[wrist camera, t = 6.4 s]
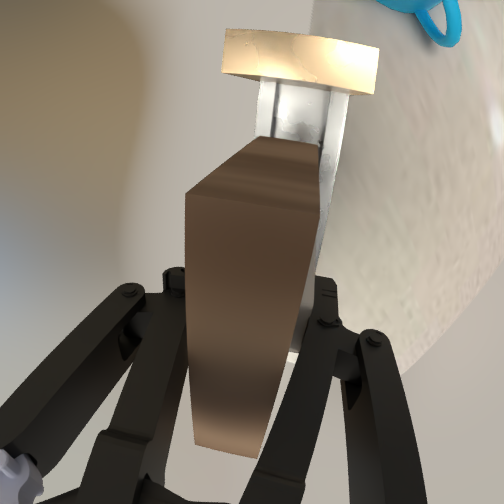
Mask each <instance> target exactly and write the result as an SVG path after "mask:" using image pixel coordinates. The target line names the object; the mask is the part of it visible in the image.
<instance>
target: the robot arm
mask: <svg viewBox="0 0 504 504" xmlns="http://www.w3.org/2000/svg"><path fill="white" fill-rule="evenodd" d="M315 255H316V239H315V243H314V248H313V252H312V257H311V262H310V266H309V270H308V275H307V279H306V284H305V288H304V292H303V296H302V300H301V305H300V309H299V313H298V317H297V321H296V325H295V329H294V333H293V337H292V340H291V344H290V348H289V352H294V353H299V355H298V358H297V361H296V364H295V367H294V369H293V372H292V375H291V378H290V381H289V384H288V386H287V389H286V392H285V394H284V398H283V400H282V403H281V405H280V408H279V411H278V413H277V416H276V418H275V421H274V424H273V426H272V429H271V431H270V434H269V436H268V439H267V441H266V444H265V446H264V448H263V451H262V454H261V456H260V458H259V461H258V463H257V465H256V467H255V469H254V471H253V473H252V475H251V478H250V480H249V482H248V484H247V487H246V489H245V491H244V493H243V496H242V498H241V500H240V502H239V504H301V501H302V497H303V494H304V491H305V478H306V475H307V472H308V468H309V465H310V461H311V458H312V455H313V451H314V448H315V444H316V441H317V437H318V433H319V430H320V426H321V422H322V418H323V414H324V410H325V406H326V402H327V398H328V394H329V389H330V385H331V380H332V376H334V377H337V378H339V379H341V380H340V383H341V392H342V401H343V411H344V421H345V433H346V446H347V460H348V475H349V495H350V504H427V497H426V491H425V485H424V479H423V473H422V468H421V462H420V457H419V452H418V447H417V443H416V438H415V433H414V429H413V425H412V420H411V416H410V412H409V408H408V404H407V400H406V396H405V392H404V389H403V385H402V381H401V378H400V374H399V371H398V367H397V364H396V360H395V357H394V353H393V350H392V347H391V344H390V341H389V339H388V337H387V336H386V335H385V334H384V333H382V332H380V331H378V330H374V329H366V330H364V331H362V332H361V334H360V335H359V334H357V333H354V332H352V331H350V330H348V329H347V328H345V327H344V326H343V325H342V321H341V319H340V318H339V316H338V298H337V297H338V296H337V285H336V283H335V282H334V280H333V279H332V278H327V277H321V276H316V275H315ZM132 363H133V364H132ZM131 364H132V366H131V369H130V372H129V374H128V377H127V379H126V382H125V384H124V387H123V390H122V392H121V395H120V398H119V400H118V403H117V406H116V408H115V411H114V414H113V417H112V419H111V422H110V425H109V427H108V428H107V429H106V430H102V431H101V432H100V433H99V434H98V436H97V438H96V441H95V443H94V446H93V449H92V452H91V455H90V458H89V460H88V463H87V467H86V469H85V472H84V476H83V479H82V482H81V485H80V487H79V488H76V489H74V490H71V491H68V492H66V493H63V494H61V495H58V496H56V497H53V498H50V499H48V500H45V501H43V502H39V503H37V504H229V503H218V502H193V501H188V500H185V499H183V498H182V497H180V496H178V495H176V494H174V493H173V492H171V491H170V490H168V489H166V488H165V487H164V484H165V467H166V463H167V458H168V453H169V448H170V443H171V439H172V435H173V430H174V425H175V420H176V416H177V412H178V407H179V403H180V399H181V394H182V390H183V386H184V381H185V377H186V373H187V369H188V349H187V327H186V297H185V268H184V267H173V268H169V269H167V270H165V271H164V273H163V292H162V293H145V289H144V287H143V286H142V285H140V284H138V283H125V284H123V285H120V286H119V287H117V289H115V290H114V291H113V292H112V293H111V294H110V295H109V296H108V297H107V298H106V299H105V300H104V301H103V302H102V303H100V304H99V305H98V306H97V307H96V308H95V309H94V310H93V311H92V312H91V313H90V314H89V315H88V316H87V317H86V318H85V319H84V320H83V321H82V322H81V323H80V324H79V325H78V326H77V327H76V328H75V329H74V330H73V331H72V332H71V333H70V334H69V335H68V336H67V337H66V338H65V339H64V340H63V341H62V342H61V343H60V344H59V345H58V346H57V347H56V348H55V349H54V350H53V351H52V352H51V353H50V354H49V355H48V356H47V357H46V358H45V359H44V360H43V361H42V362H41V363H40V365H39V366H38V367H37V368H36V369H35V370H34V371H33V372H32V373H31V374H30V375H29V376H28V377H27V379H25V381H24V382H23V383H22V384H21V385H20V386H19V387H18V388H17V389H16V390H15V391H14V393H13V394H12V395H11V396H10V397H9V398H8V399H7V401H6V402H5V403H4V404H3V405H2V406H1V407H0V504H33V501H34V499H35V497H36V496H40V495H42V493H43V491H44V487H43V480H42V478H43V477H44V476H46V475H47V474H48V473H49V472H50V471H51V470H52V469H53V468H54V467H55V466H56V465H57V464H58V462H59V461H60V460H61V459H62V457H63V456H64V455H65V453H66V452H67V450H68V449H69V448H70V446H71V445H72V443H73V442H74V441H75V439H76V438H77V437H78V435H79V434H80V432H81V431H82V430H83V428H84V427H85V426H86V424H87V423H88V421H89V420H90V419H91V417H92V416H93V414H94V413H95V412H96V411H97V409H98V408H99V407H100V405H101V404H102V402H103V401H104V400H105V398H106V397H107V396H108V394H109V393H110V392H111V390H112V389H113V388H114V386H115V385H116V383H117V382H118V381H119V380H120V378H121V377H122V375H123V374H124V373H125V372H126V370H127V369H128V368H129V366H130V365H131Z"/></svg>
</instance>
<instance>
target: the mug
mask: <svg viewBox="0 0 504 504" xmlns="http://www.w3.org/2000/svg"><path fill="white" fill-rule="evenodd" d="M376 1H377V2H379V3H381V4H383V5H385V6H387V7H388V8H390V9H393V10H397V11H400V12H403V13H415V14H416V16H417V18H418V20H419V21H420V23H421V25H422V26H423V28H424V30H425V31H426V32H427V34H428V35H429V36H430V37H431V39H432V40H434V41H435V42H436V43H437V44H438V45H440V46H443V47H453V46H454V45H455V44H456V43H458V42H459V40H460V36H461V31H462V23H461V13H460V9H459V5H458V0H376ZM442 1H443V5H444V9H445V13H446V21H447V30H446V35H443V34H442V33H441V32H440V30H439V29H438V28H437V27H436V25H435V24H434V22H433V21H432V19H431V17H430V16H429V14H428V12H427V11H428V10H430V9H432V8H433V7H435V6H436V5H438V4H439V3H441V2H442Z"/></svg>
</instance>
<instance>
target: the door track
mask: <svg viewBox="0 0 504 504" xmlns="http://www.w3.org/2000/svg"><path fill="white" fill-rule="evenodd" d="M224 43H225V44H224V52H223V61H222V71H221V72H222V73H225V74H230V75H234V76H239V77H243V78H247V79H251V80H255V81H259V82H260V87H259V96H258V105H257V106H258V107H257V115H256V124H255V134H254V139H256V138H257V137H258V136H266V137H273V138H280V139H287V140H293V141H299V142H305V143H311V144H317V145H318V162H319V187H320V219H319V224H318V229H317V234H316V255H315V270H316V266H317V262H318V258H319V253H320V249H321V244H322V240H323V236H324V231H325V226H326V222H327V217H328V212H329V207H330V202H331V198H332V192H333V187H334V182H335V177H336V172H337V166H338V161H339V155H340V150H341V144H342V138H343V132H344V126H345V120H346V113H347V107H348V100H349V95H368V94H373V93H374V86H375V79H376V72H377V64H378V55H379V49H378V48H374V47H369V46H365V45H361V44H356V43H351V42H346V41H341V40H336V39H330V38H324V37H318V36H311V35H304V34H295V33H287V32H277V31H265V30H248V29H247V30H246V29H226V34H225V42H224Z"/></svg>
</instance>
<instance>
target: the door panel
mask: <svg viewBox="0 0 504 504" xmlns="http://www.w3.org/2000/svg"><path fill="white" fill-rule="evenodd" d="M319 219H320V187H319V162H318V145H317V144H311V143H305V142H299V141H293V140H287V139H280V138H273V137H266V136H258V137H257V138H256V139H254V140H253V141H252V142H251V143H249V144H248V145H246V146H245V147H244V148H242V149H241V150H240V151H238V152H237V153H236V154H234V155H233V156H232V157H231V158H229V159H228V160H227V161H226V162H224V163H223V164H221V165H220V166H219V167H218V168H216V169H215V170H214V171H213V172H211V173H210V174H209V175H208V176H206V177H205V178H204V179H203V180H201V181H200V182H199V183H198V184H196V185H195V186H194V187H193V188H192V189H190V190H189V191H188V192H187V193H186V194H185V297H186V327H187V349H188V366H189V382H190V394H191V395H190V396H191V407H192V420H193V430H194V440H195V445H199V446H202V447H206V448H210V449H214V450H218V451H223V452H226V453H231V454H235V455H240V456H245V457H250V458H255V459H257V457H258V454H259V451H260V448H261V445H262V442H263V439H264V435H265V432H266V429H267V426H268V422H269V419H270V416H271V412H272V409H273V406H274V402H275V399H276V395H277V392H278V388H279V385H280V381H281V377H282V374H283V370H284V367H285V363H286V359H287V356H288V352H289V348H290V344H291V340H292V337H293V333H294V329H295V325H296V321H297V317H298V313H299V309H300V305H301V300H302V296H303V292H304V288H305V284H306V279H307V275H308V270H309V266H310V262H311V257H312V252H313V248H314V243H315V239H316V234H317V229H318V224H319Z"/></svg>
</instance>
